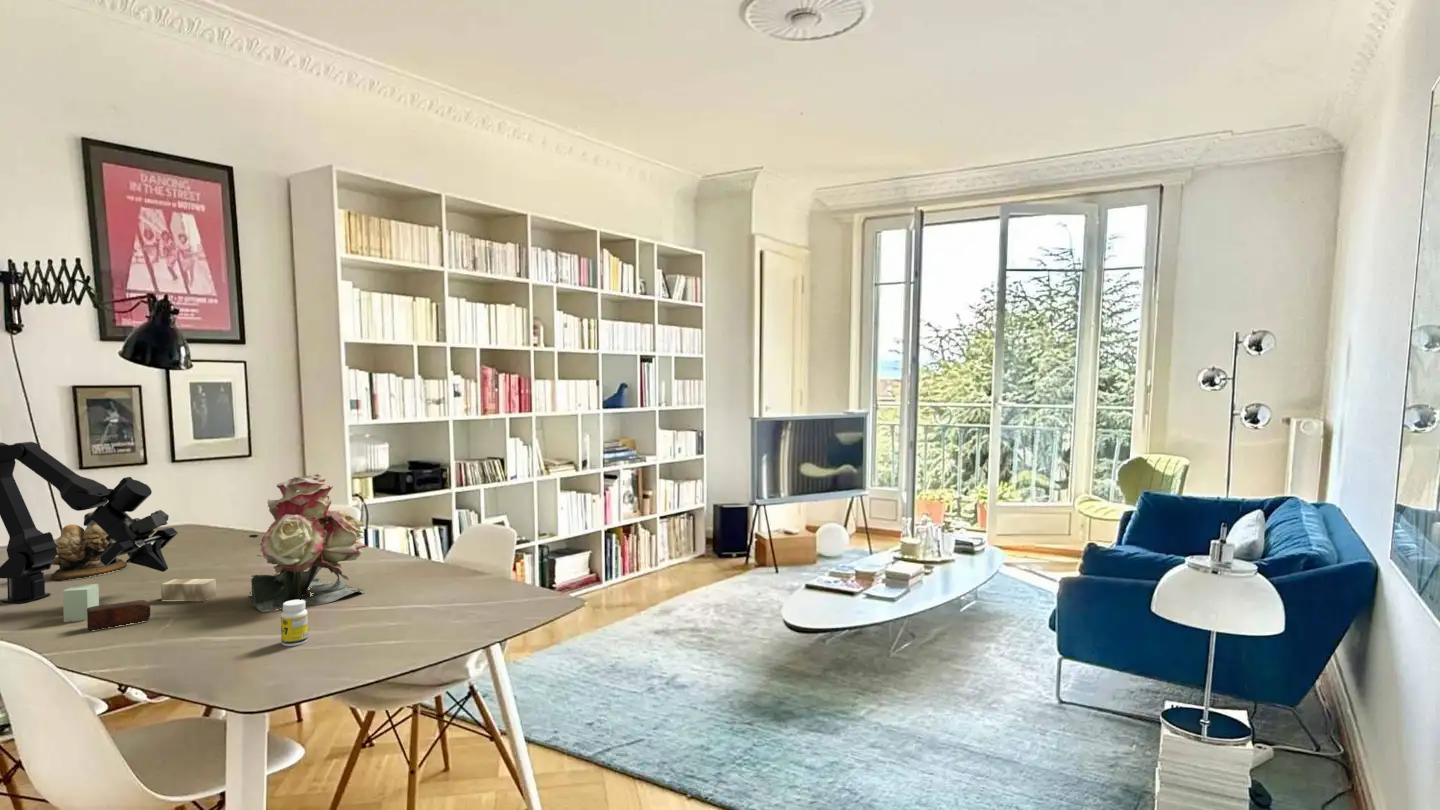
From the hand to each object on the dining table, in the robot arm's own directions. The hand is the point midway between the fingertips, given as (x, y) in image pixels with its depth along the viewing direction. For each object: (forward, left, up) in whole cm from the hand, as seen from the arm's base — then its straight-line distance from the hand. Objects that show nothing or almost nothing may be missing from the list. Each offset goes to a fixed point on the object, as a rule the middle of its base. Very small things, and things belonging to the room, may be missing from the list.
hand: (165, 570), depth 180 cm
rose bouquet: (+32, +8, -7) cm, 34 cm away
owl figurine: (-40, +20, -7) cm, 45 cm away
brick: (+5, -18, -7) cm, 20 cm away
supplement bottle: (+50, -24, -7) cm, 56 cm away
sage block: (-7, -15, -7) cm, 18 cm away
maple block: (0, 0, -5) cm, 5 cm away
